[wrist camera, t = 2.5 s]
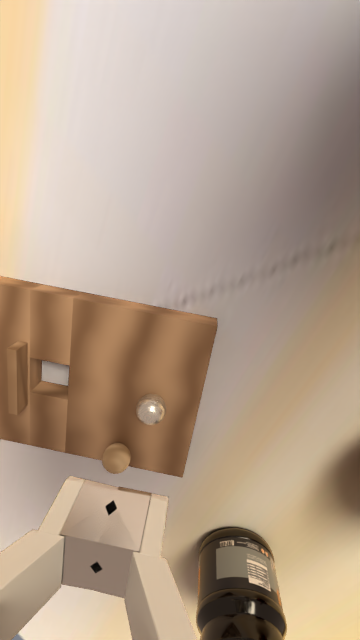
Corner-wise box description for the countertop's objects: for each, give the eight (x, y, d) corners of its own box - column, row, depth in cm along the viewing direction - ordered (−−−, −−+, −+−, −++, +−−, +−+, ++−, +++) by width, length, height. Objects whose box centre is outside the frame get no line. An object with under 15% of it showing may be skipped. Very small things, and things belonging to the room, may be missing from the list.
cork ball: (135, 440, 35) (128, 461, 32) (131, 460, 36) (124, 483, 33) (108, 434, 35) (99, 454, 32) (106, 455, 36) (96, 477, 33)
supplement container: (205, 575, 45) (204, 694, 34) (192, 525, 42) (185, 638, 31) (276, 573, 44) (299, 697, 32) (267, 521, 41) (290, 638, 29)
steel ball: (170, 391, 32) (166, 409, 29) (165, 415, 33) (161, 434, 30) (141, 385, 32) (134, 402, 29) (138, 409, 34) (130, 428, 31)
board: (216, 318, 32) (218, 333, 28) (184, 461, 39) (180, 491, 34) (1, 276, 33) (-31, 285, 28) (5, 424, 39) (-19, 449, 35)
